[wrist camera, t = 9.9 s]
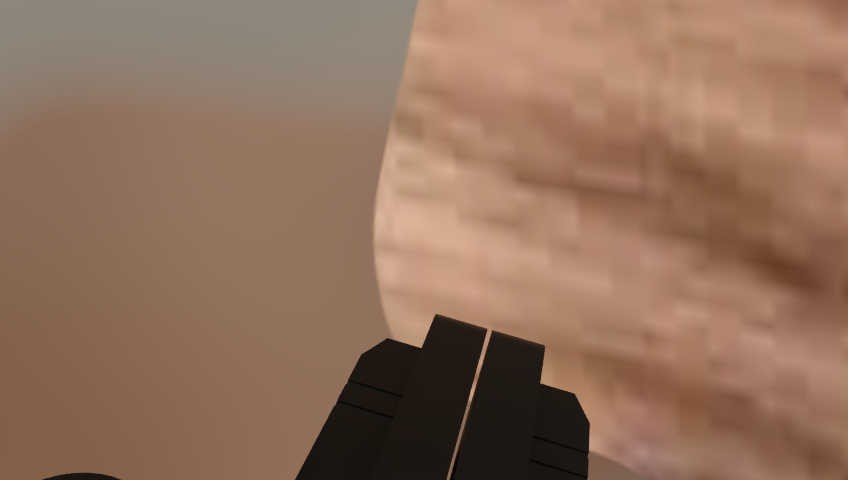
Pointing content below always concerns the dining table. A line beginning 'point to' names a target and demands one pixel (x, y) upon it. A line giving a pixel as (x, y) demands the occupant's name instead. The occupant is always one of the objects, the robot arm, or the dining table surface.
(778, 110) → the dining table surface
